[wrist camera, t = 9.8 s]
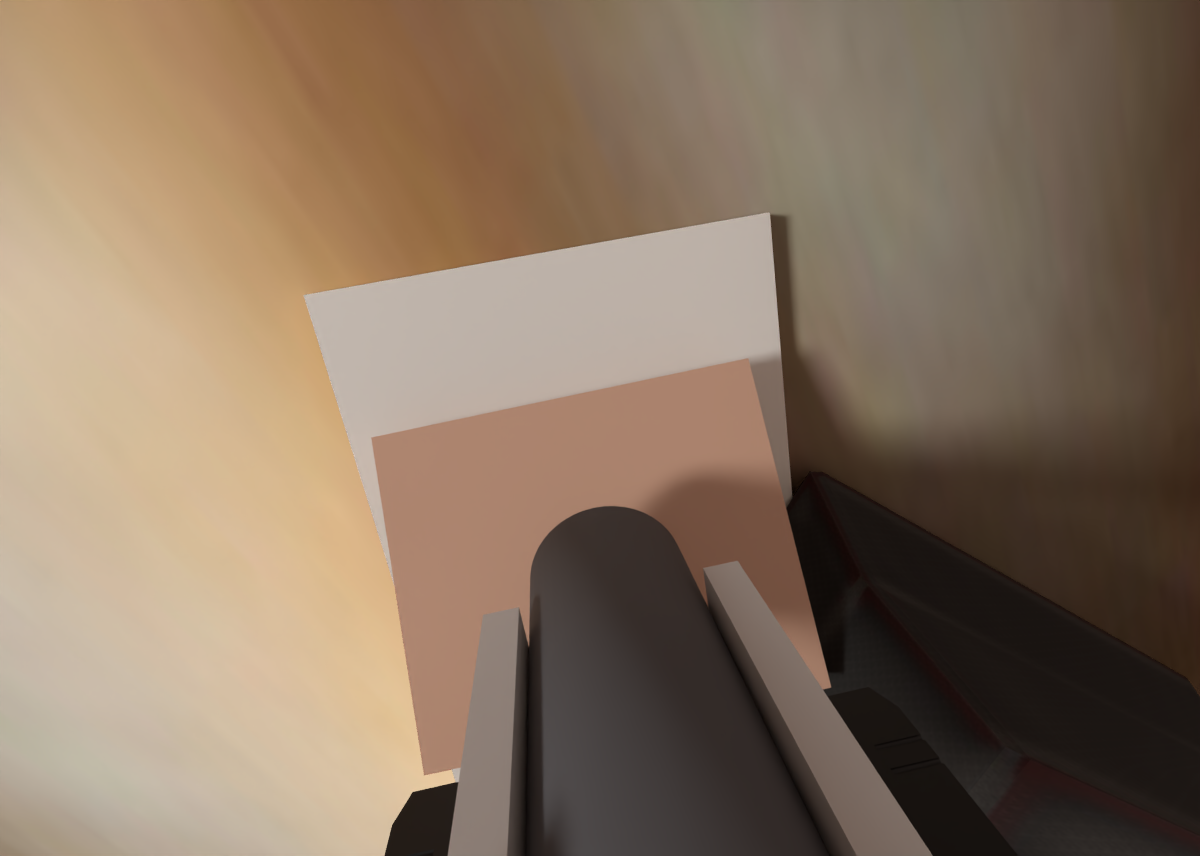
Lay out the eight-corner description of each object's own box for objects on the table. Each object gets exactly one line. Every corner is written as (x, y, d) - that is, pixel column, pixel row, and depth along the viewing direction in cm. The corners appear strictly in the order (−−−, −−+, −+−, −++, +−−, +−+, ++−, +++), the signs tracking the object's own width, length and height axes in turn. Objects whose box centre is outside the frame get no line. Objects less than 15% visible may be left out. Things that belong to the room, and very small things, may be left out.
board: (490, 872, 27) (488, 905, 25) (312, 293, 19) (296, 296, 18) (809, 798, 27) (823, 826, 26) (760, 214, 20) (776, 210, 19)
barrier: (687, 651, 23) (810, 922, 14) (810, 465, 22) (1042, 623, 12) (1074, 817, 29) (1346, 1084, 20) (1190, 680, 28) (1543, 897, 18)
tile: (392, 443, 20) (441, 750, 19) (371, 437, 18) (424, 775, 17) (736, 371, 20) (811, 671, 19) (748, 358, 18) (831, 687, 17)
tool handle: (547, 657, 16) (577, 1711, 4) (515, 523, 15) (441, 1485, 3) (692, 625, 16) (1084, 1552, 5) (671, 491, 15) (1132, 1287, 3)
